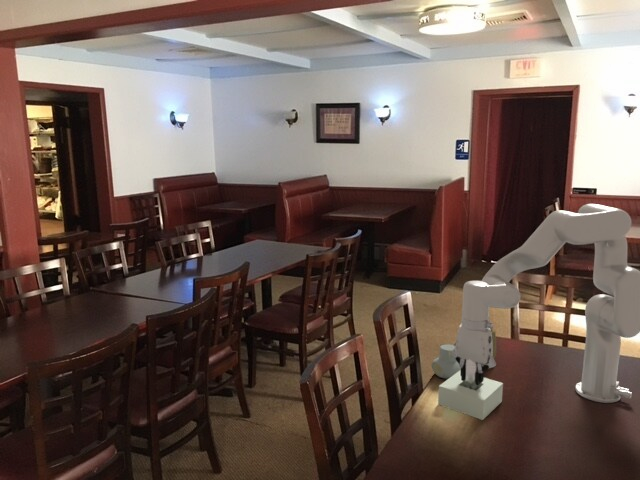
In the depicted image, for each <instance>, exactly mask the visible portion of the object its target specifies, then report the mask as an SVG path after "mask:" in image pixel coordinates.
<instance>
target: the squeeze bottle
mask: <svg viewBox="0 0 640 480" xmlns="http://www.w3.org/2000/svg"><path fill="white" fill-rule="evenodd" d="M489 322H490V323H491V320H490V318H489ZM489 328H490V329H491V333H492V342H493V358H494V360H495V358H496V356H497V339H496V338H497V337H496V336H497V335H496V330H495V329H494V326H493V327H492V328H491V327H489ZM488 363H489V361H488V360H487V363H486V364H488ZM486 364H485V365H486Z"/></svg>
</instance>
